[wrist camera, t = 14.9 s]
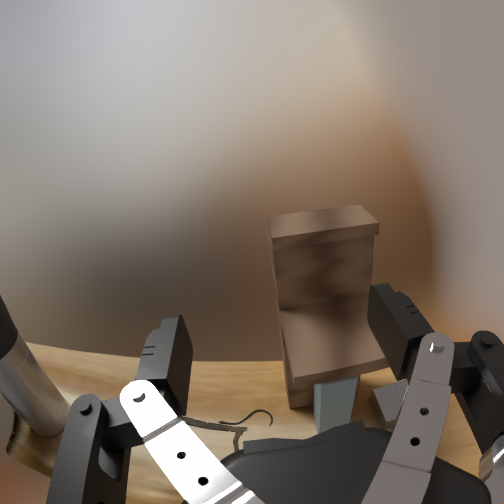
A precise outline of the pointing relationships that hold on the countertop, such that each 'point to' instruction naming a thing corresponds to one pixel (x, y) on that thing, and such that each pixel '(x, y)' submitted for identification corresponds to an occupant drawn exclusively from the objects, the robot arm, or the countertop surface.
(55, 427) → the robot arm
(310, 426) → the countertop surface
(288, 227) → the brown tall blocky piece
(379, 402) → the grey square block
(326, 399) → the block
